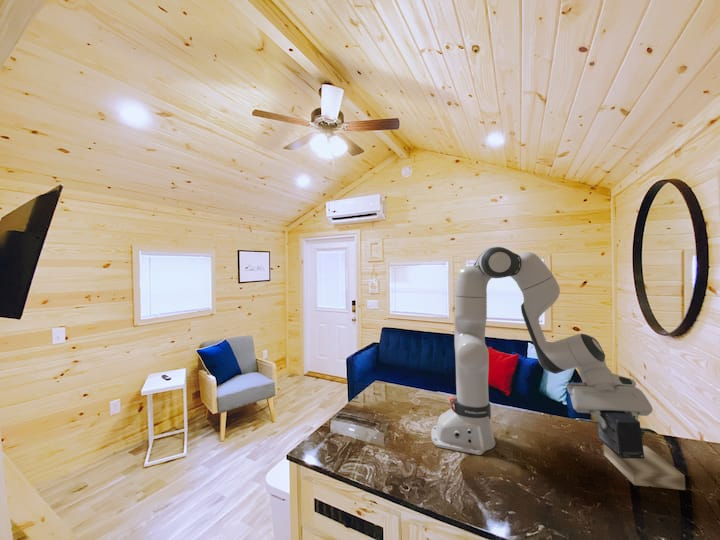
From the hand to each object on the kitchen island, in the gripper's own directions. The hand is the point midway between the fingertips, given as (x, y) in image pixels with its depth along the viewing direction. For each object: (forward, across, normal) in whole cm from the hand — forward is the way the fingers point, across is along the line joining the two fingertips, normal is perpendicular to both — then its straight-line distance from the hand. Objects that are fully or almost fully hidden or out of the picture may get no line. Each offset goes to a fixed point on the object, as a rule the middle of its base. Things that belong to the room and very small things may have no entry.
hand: (621, 428), depth 87 cm
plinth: (+8, +6, +12) cm, 16 cm away
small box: (+4, 0, +6) cm, 7 cm away
